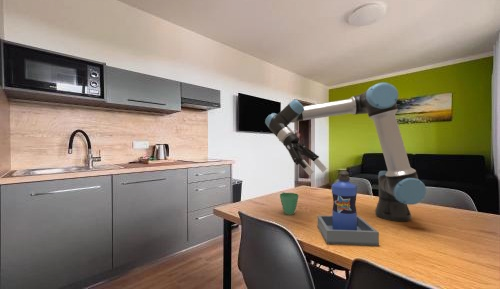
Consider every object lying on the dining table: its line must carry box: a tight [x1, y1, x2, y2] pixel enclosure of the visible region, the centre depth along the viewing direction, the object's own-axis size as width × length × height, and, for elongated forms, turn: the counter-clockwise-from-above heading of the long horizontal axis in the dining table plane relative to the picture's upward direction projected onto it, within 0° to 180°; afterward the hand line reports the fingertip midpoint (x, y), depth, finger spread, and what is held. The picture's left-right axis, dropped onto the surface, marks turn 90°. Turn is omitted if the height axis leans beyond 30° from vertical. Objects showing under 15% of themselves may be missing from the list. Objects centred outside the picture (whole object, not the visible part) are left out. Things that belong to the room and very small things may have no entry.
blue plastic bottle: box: [331, 169, 358, 230], centre depth 89 cm, size 9×9×25 cm
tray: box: [316, 214, 380, 247], centre depth 89 cm, size 18×18×5 cm
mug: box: [279, 191, 299, 216], centre depth 121 cm, size 15×10×10 cm
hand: (318, 172), depth 96 cm, fingers open, 13 cm apart
